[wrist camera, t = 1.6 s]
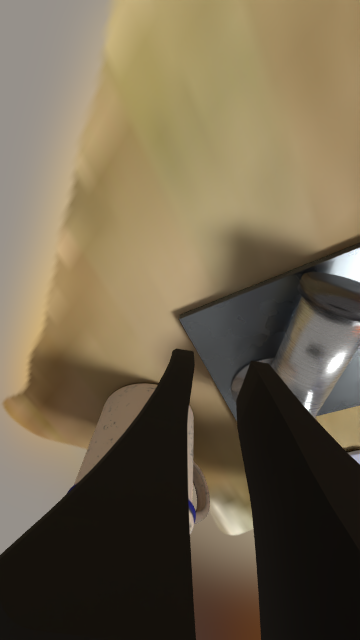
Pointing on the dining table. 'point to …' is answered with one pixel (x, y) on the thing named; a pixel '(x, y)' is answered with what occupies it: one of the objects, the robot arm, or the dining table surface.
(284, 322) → the metal pipe fittings plate
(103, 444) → the teacup with lid
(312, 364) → the silver pipe
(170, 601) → the robot arm
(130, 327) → the dining table surface
